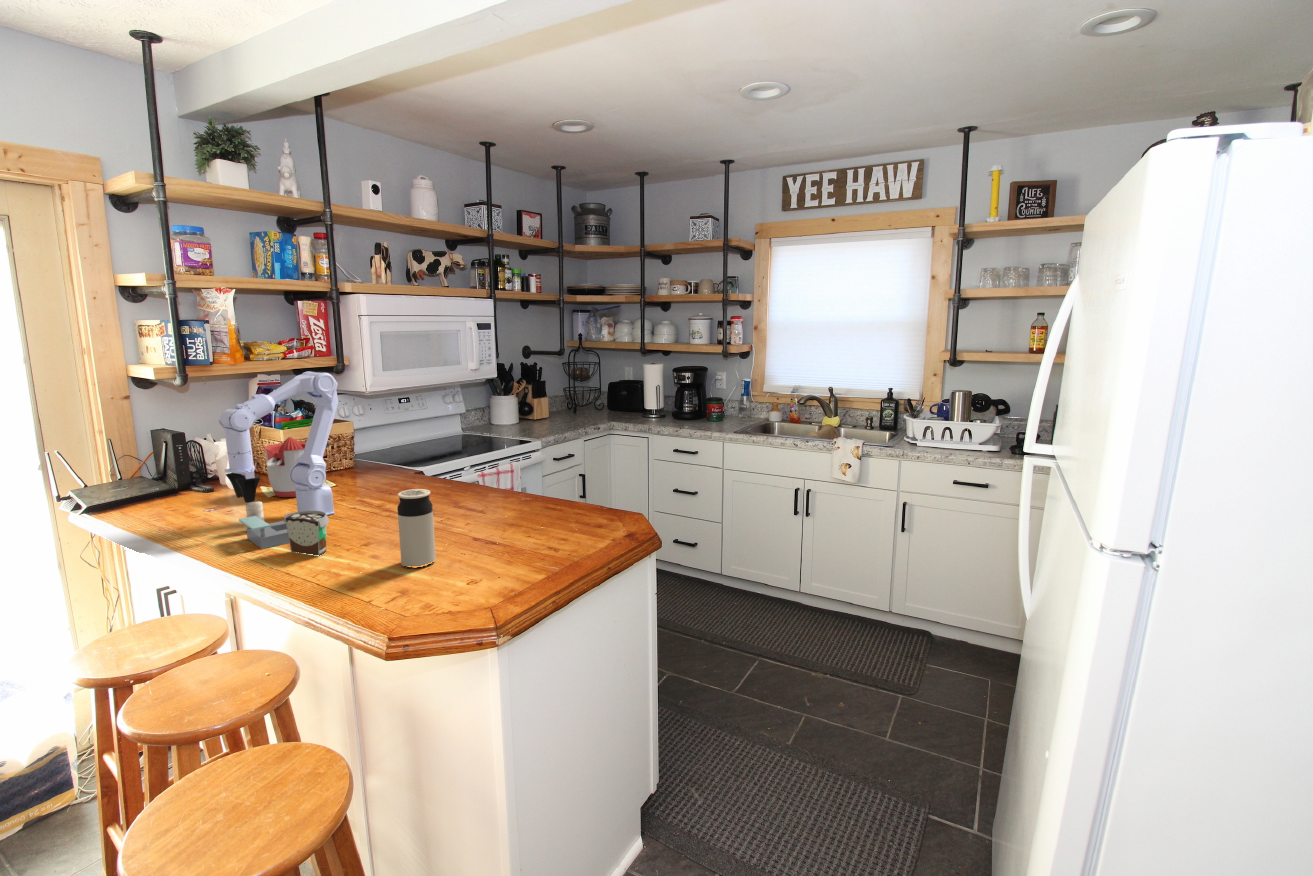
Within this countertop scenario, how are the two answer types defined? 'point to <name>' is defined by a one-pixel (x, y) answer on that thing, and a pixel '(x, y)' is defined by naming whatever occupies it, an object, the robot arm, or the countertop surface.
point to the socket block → (265, 532)
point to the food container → (307, 531)
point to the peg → (255, 510)
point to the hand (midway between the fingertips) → (245, 499)
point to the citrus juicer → (283, 465)
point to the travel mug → (416, 527)
